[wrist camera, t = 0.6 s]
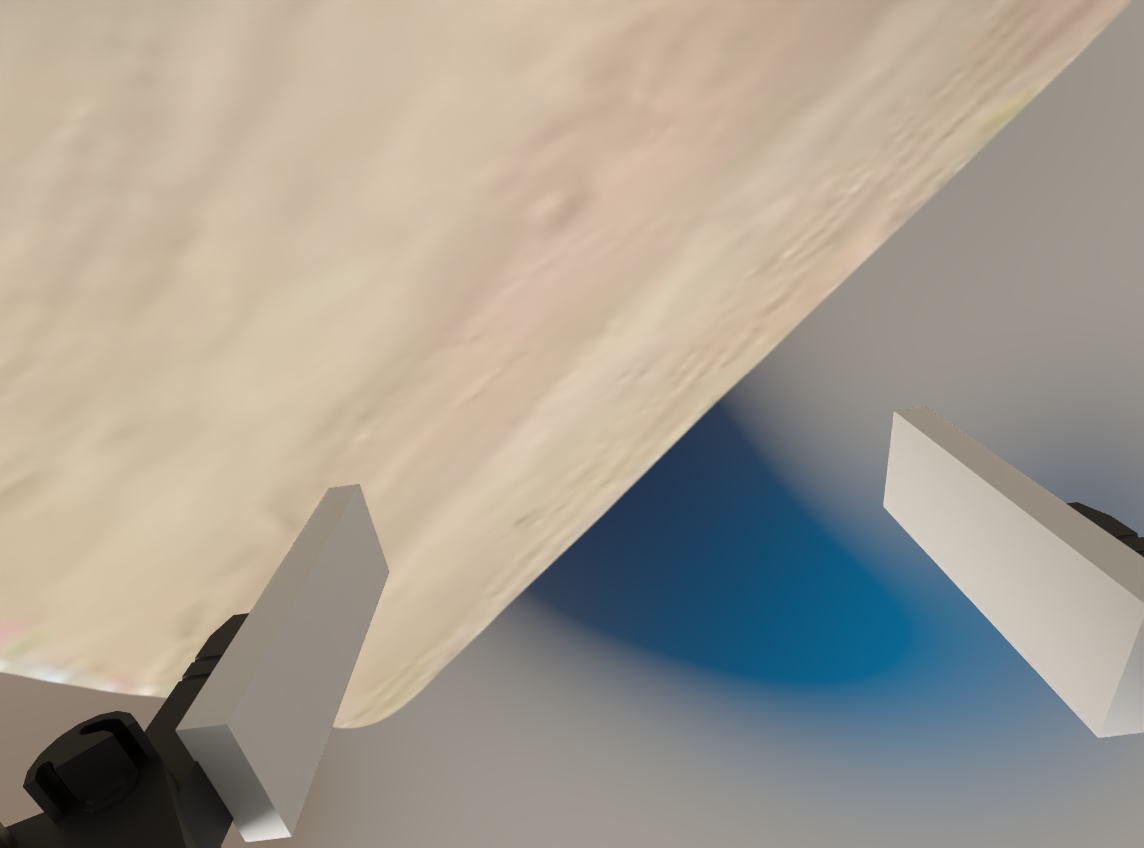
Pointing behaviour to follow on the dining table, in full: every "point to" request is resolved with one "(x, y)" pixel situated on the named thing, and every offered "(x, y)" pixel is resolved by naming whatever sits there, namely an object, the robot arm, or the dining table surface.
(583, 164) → the dining table surface
